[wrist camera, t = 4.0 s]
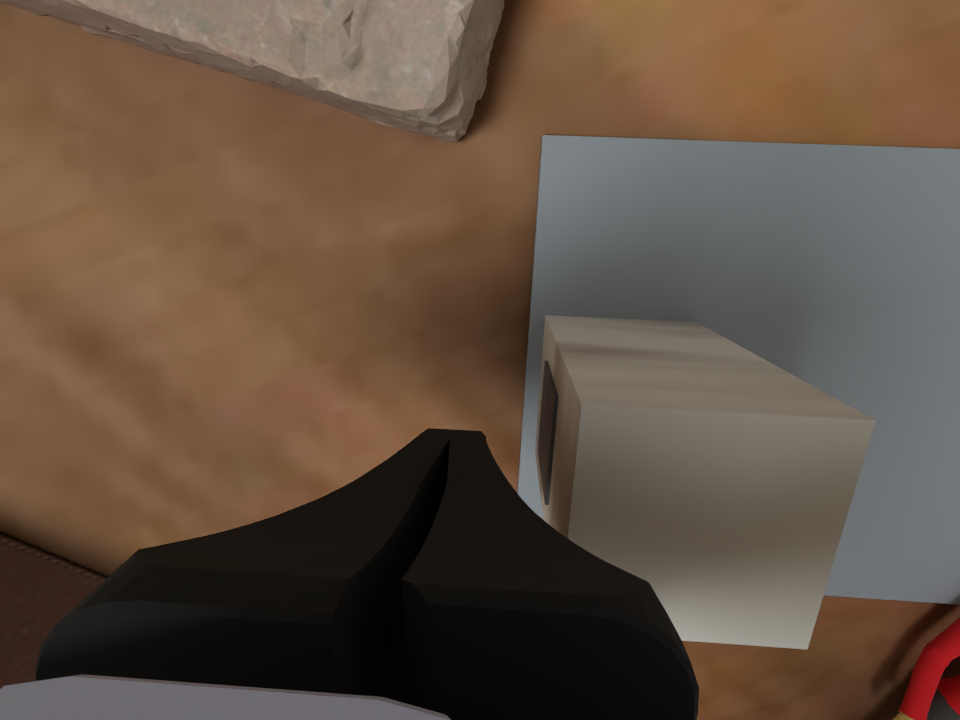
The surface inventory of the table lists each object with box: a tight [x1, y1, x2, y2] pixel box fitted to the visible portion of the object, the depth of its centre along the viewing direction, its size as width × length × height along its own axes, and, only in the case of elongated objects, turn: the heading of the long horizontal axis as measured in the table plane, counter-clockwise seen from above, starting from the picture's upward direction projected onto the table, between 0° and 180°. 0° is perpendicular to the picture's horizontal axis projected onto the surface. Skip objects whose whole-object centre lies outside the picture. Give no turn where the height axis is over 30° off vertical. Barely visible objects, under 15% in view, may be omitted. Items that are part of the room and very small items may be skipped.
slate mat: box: [517, 135, 960, 605], centre depth 17 cm, size 16×20×1 cm
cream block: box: [535, 315, 876, 649], centre depth 13 cm, size 5×5×8 cm
